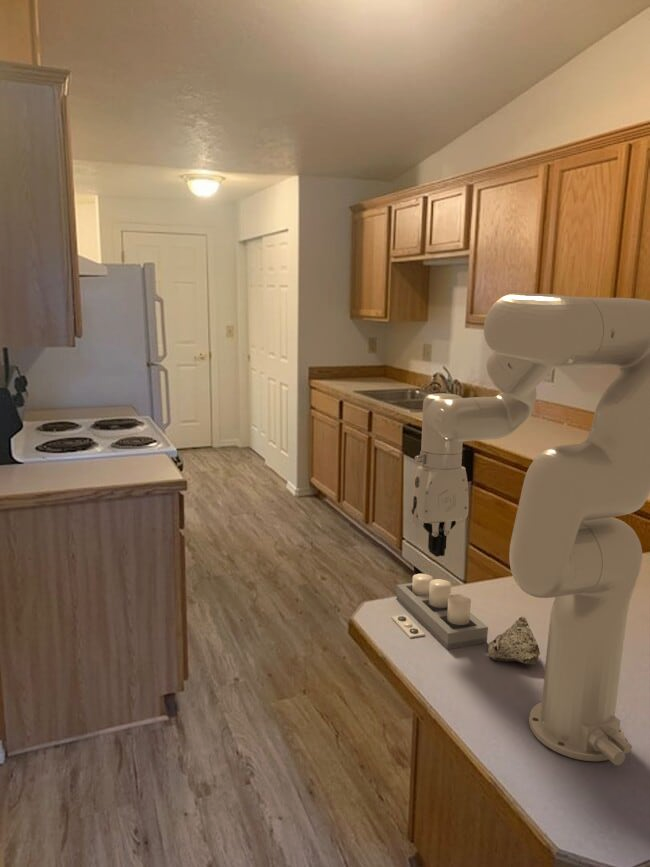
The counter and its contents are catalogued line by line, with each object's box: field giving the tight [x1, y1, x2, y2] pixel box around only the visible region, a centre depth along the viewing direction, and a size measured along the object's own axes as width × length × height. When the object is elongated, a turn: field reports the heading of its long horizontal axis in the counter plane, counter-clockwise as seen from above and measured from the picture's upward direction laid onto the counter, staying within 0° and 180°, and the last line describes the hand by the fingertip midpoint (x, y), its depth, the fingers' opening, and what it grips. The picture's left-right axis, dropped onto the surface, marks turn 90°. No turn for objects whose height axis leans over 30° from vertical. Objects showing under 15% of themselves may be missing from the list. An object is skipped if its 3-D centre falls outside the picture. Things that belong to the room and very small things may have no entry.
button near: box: [447, 593, 472, 625], centre depth 117 cm, size 4×4×4 cm
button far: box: [411, 573, 434, 596], centre depth 130 cm, size 4×4×4 cm
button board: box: [395, 582, 489, 650], centre depth 124 cm, size 21×8×3 cm, turn 19°
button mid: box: [429, 578, 452, 608], centre depth 123 cm, size 4×4×4 cm
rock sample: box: [487, 615, 541, 666], centre depth 111 cm, size 10×8×9 cm
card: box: [391, 614, 426, 639], centre depth 121 cm, size 8×3×1 cm, turn 19°
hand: (436, 553), depth 124 cm, fingers closed
